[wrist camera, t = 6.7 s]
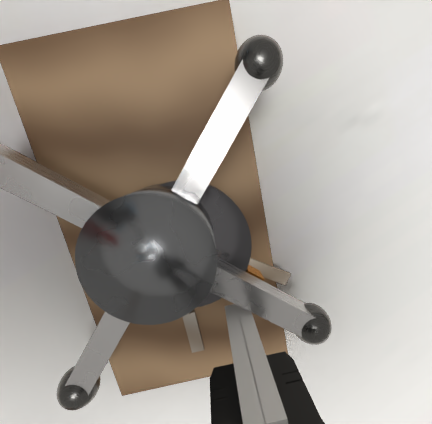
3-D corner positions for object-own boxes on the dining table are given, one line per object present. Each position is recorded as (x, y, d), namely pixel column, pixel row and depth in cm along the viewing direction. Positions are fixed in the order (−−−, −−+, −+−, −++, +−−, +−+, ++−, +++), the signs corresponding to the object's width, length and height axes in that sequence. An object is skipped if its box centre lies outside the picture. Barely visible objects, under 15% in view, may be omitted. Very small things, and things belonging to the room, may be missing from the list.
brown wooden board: (16, 58, 14) (-11, 43, 12) (243, 12, 14) (248, -10, 12) (128, 377, 19) (120, 399, 17) (294, 341, 19) (303, 358, 17)
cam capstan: (-70, 294, 15) (-206, 359, 10) (70, -62, 11) (-29, -230, 7) (226, 415, 18) (235, 509, 13) (402, 166, 15) (501, 167, 10)
